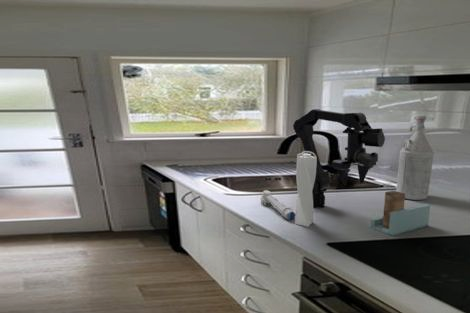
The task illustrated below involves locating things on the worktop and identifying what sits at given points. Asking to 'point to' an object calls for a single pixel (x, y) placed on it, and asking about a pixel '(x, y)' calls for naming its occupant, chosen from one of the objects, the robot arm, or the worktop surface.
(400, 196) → the walnut box
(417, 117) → the white bottle
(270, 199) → the syringe
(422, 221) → the backboard channel
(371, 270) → the worktop surface
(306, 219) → the skyscraper
